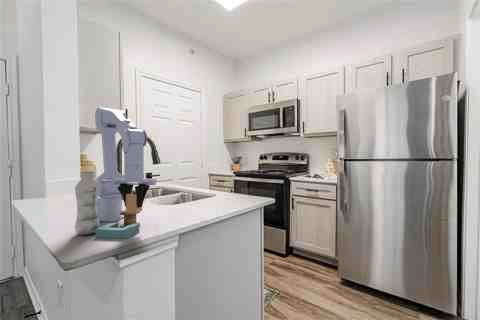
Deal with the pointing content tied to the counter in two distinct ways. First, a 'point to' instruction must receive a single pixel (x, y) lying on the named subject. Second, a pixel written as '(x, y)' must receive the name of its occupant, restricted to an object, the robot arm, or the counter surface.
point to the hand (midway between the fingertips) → (133, 206)
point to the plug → (132, 203)
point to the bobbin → (128, 218)
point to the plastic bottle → (87, 204)
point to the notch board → (116, 231)
